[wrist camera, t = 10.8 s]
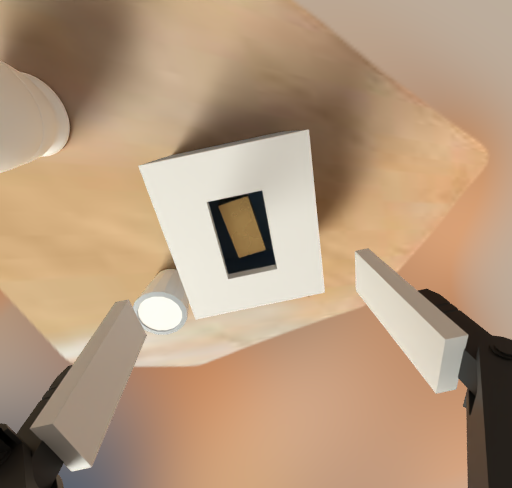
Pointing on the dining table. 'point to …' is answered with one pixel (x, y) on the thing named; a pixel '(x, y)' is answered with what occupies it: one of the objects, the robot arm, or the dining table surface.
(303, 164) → the box
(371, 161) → the dining table surface
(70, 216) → the dining table surface
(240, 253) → the wooden rectangular block
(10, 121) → the jar
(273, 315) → the dining table surface
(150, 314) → the white cylinder
